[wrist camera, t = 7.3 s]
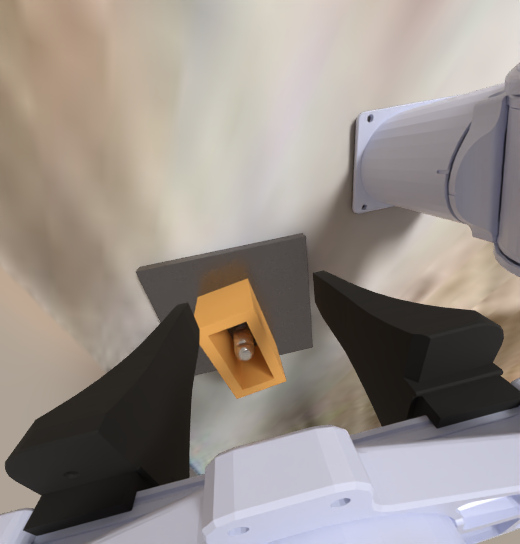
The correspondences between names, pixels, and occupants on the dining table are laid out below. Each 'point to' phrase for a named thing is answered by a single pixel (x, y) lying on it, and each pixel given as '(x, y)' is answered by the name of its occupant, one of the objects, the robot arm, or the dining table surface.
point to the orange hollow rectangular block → (220, 346)
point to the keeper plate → (231, 269)
